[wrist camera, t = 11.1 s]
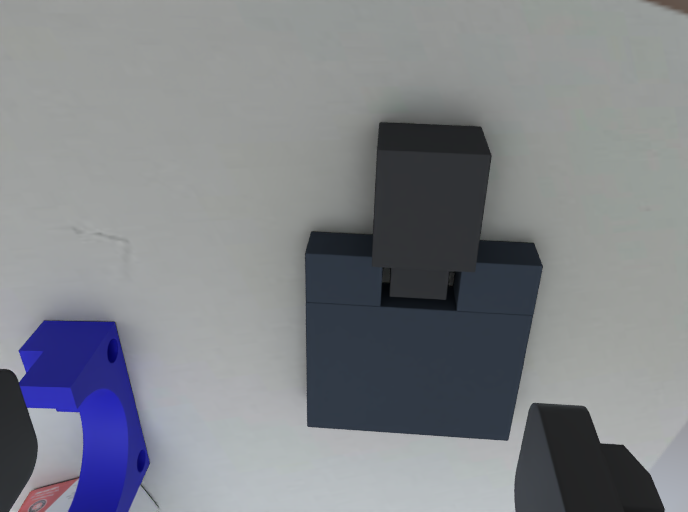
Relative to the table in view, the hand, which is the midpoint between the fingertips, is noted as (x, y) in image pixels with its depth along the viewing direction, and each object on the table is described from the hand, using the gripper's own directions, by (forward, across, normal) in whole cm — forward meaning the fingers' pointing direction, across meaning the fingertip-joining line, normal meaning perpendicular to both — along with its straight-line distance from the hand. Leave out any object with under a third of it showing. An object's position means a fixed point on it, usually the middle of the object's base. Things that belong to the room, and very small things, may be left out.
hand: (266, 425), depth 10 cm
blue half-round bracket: (+23, +16, +22) cm, 36 cm away
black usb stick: (+23, -4, +7) cm, 25 cm away
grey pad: (+23, -4, +15) cm, 28 cm away
